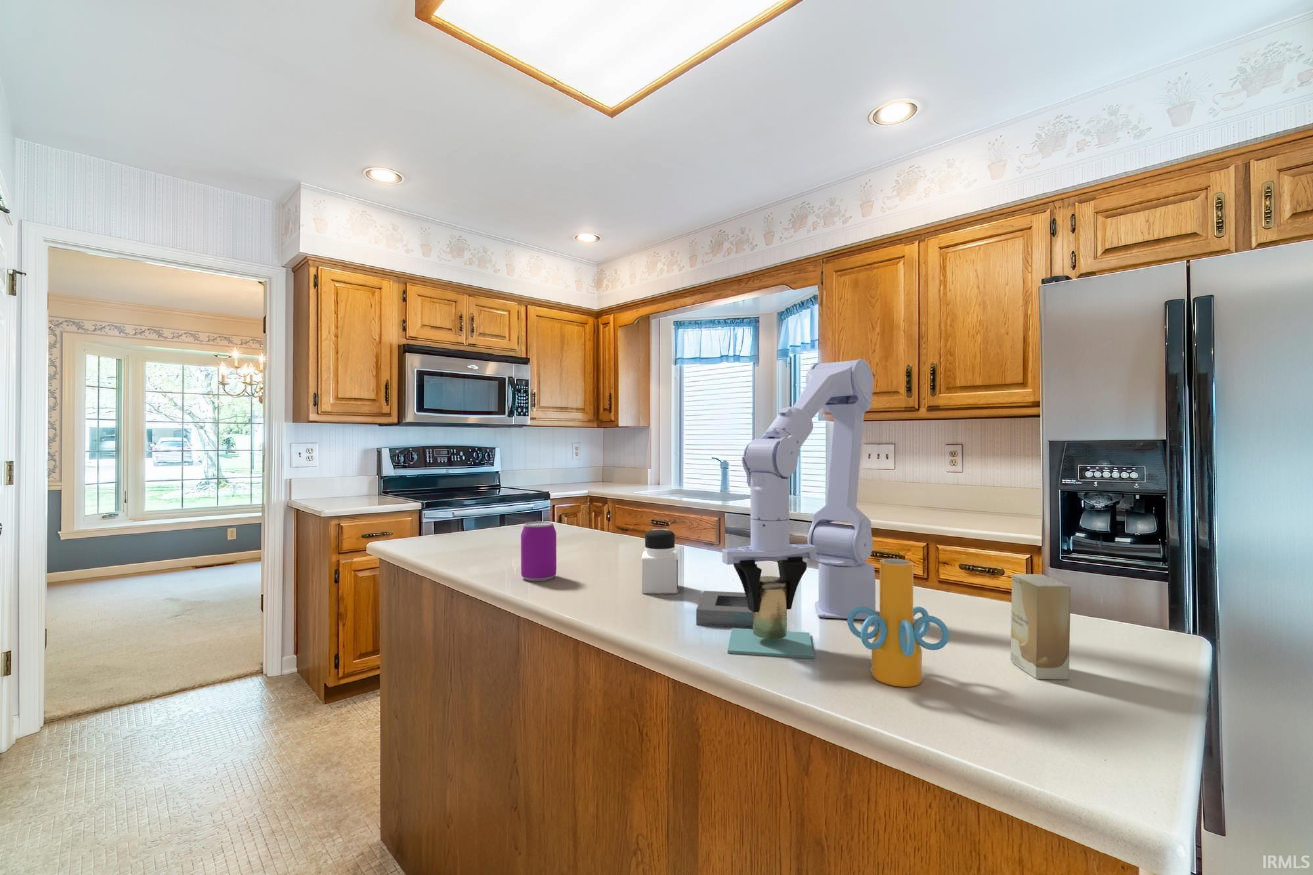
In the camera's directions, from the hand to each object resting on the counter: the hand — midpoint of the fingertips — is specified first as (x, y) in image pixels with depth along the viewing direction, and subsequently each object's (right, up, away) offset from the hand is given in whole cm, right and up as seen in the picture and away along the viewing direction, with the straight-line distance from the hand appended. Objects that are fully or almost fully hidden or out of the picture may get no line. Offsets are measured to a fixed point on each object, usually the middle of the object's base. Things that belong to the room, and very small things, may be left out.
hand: (770, 609), depth 90 cm
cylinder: (+14, -5, -13) cm, 20 cm away
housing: (-3, -5, +14) cm, 15 cm away
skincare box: (+34, -5, -11) cm, 36 cm away
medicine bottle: (-16, -5, +32) cm, 36 cm away
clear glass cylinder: (0, -4, 0) cm, 4 cm away
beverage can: (-43, -5, +42) cm, 60 cm away
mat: (0, -5, 0) cm, 5 cm away
